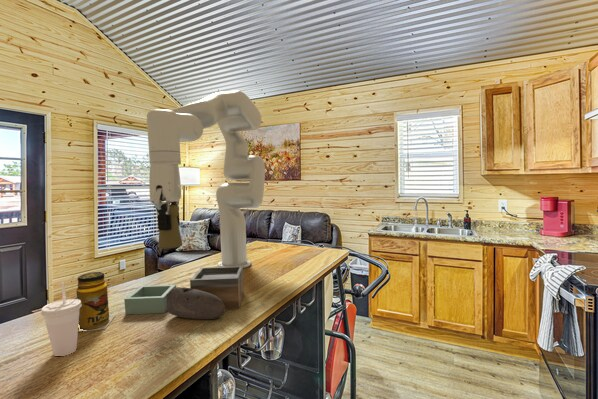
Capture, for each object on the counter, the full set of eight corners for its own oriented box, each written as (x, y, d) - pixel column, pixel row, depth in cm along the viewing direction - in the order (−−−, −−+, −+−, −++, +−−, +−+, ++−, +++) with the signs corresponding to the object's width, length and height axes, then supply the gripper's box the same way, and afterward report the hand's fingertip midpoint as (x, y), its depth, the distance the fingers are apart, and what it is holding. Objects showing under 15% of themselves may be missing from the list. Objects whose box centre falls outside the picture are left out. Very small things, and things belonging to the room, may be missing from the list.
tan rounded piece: (173, 248, 81) (170, 206, 80) (152, 248, 83) (150, 206, 82) (186, 243, 87) (184, 203, 86) (167, 242, 88) (165, 203, 87)
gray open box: (202, 295, 92) (200, 267, 92) (243, 293, 93) (242, 266, 92) (191, 311, 81) (190, 280, 81) (238, 309, 82) (237, 278, 81)
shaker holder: (141, 299, 90) (141, 285, 89) (176, 298, 90) (175, 284, 90) (125, 314, 80) (124, 299, 80) (164, 312, 81) (163, 297, 80)
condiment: (105, 329, 72) (101, 278, 72) (62, 334, 71) (58, 281, 70) (115, 315, 80) (112, 268, 79) (77, 320, 78) (73, 271, 77)
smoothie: (91, 347, 65) (86, 280, 64) (56, 364, 59) (50, 290, 58) (72, 341, 67) (67, 276, 66) (37, 356, 62) (31, 286, 61)
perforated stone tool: (230, 316, 78) (229, 288, 78) (219, 326, 73) (218, 296, 73) (178, 310, 82) (177, 283, 82) (164, 319, 77) (163, 291, 77)
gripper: (163, 160, 91) (167, 223, 93) (134, 158, 74) (140, 234, 76) (190, 159, 91) (193, 222, 93) (167, 157, 74) (171, 234, 76)
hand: (169, 227), depth 84 cm, fingers closed on tan rounded piece, 5 cm apart
